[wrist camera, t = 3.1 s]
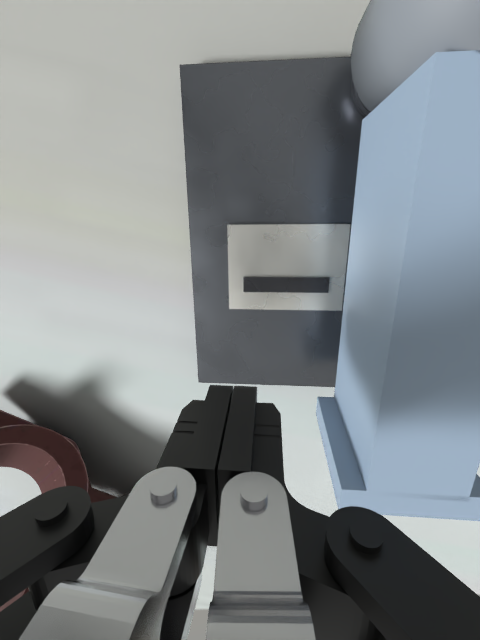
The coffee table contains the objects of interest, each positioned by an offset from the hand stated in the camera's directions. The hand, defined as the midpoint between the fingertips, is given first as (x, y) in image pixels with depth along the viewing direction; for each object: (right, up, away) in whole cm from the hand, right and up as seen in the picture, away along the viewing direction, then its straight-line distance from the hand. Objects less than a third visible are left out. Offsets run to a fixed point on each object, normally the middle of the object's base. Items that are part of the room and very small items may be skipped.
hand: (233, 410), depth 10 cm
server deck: (+7, +7, +7) cm, 12 cm away
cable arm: (+6, +6, +3) cm, 9 cm away
